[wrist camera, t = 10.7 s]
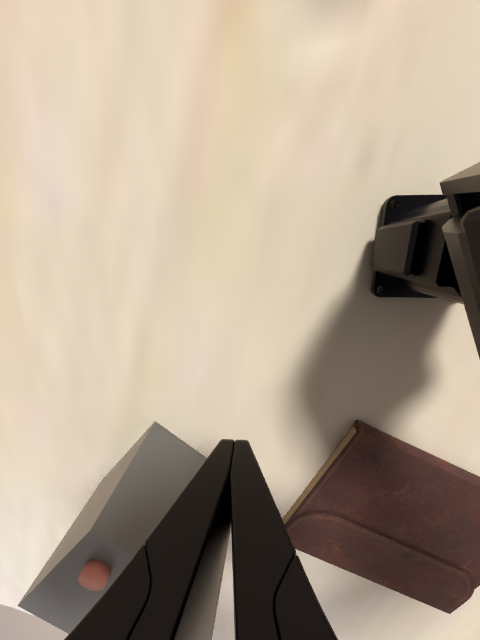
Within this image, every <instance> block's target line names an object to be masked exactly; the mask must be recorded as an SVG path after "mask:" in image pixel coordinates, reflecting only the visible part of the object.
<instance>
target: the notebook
mask: <svg viewBox="0 0 480 640" xmlns="http://www.w3.org/2000/svg"><path fill="white" fill-rule="evenodd" d="M355 423H356V424H354V425H353V427H352V428H351V429H350V431H349V432H348V433H347V435H346V436H345V437H344V439H343V440H342V441H341V443H340V444H339V445H338V447H337V448H336V449H335V450H334V452H333V453H332V454H331V456H330V457H329V458H328V460H327V461H326V462H325V464H324V465H323V466H322V468H321V469H320V470H319V472H318V473H317V474H316V476H315V477H314V478H313V480H312V481H311V482H310V484H309V485H308V486H307V487H306V489H305V490H304V491H303V493H302V494H301V495H300V497H299V498H298V499H297V501H296V502H295V503H294V505H293V506H292V507H291V509H290V510H289V511H288V513H287V514H286V515H285V517H284V518H283V519H282V520H283V523H284V525H285V527H286V530H287V532H288V534H289V537H290V539H291V541H292V544H293V546H294V548H295V549H297V550H300V551H302V552H304V553H307V554H309V555H311V556H314V557H316V558H319V559H321V560H323V561H326V562H328V563H330V564H333V565H335V566H338V567H340V568H342V569H345V570H347V571H349V572H352V573H354V574H356V575H359V576H361V577H364V578H366V579H368V580H371V581H373V582H375V583H378V584H380V585H382V586H385V587H387V588H390V589H392V590H394V591H397V592H399V593H401V594H404V595H406V596H409V597H411V598H413V599H416V600H418V601H420V602H423V603H425V604H427V605H430V606H432V607H435V608H437V609H439V610H442V611H444V612H446V613H449V614H450V613H452V612H453V611H454V610H456V609H457V608H458V607H460V606H461V605H462V604H464V603H465V602H466V601H467V600H468V599H469V598H470V597H471V596H472V594H473V592H474V589H476V588H477V587H478V586H479V585H480V477H479V476H476V475H474V474H472V473H470V472H468V471H466V470H463V469H461V468H459V467H457V466H455V465H453V464H451V463H448V462H446V461H444V460H442V459H440V458H438V457H435V456H433V455H431V454H429V453H427V452H425V451H423V450H420V449H418V448H416V447H414V446H412V445H410V444H407V443H405V442H403V441H401V440H399V439H397V438H395V437H392V436H390V435H388V434H386V433H384V432H382V431H379V430H377V429H375V428H373V427H371V426H369V425H366V424H364V423H362V422H360V421H358V420H356V421H355Z"/></svg>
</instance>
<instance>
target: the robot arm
mask: <svg viewBox="0 0 480 640" xmlns="http://www.w3.org/2000/svg"><path fill="white" fill-rule="evenodd" d="M440 186H441V190H442V193H443V195H396V196H392V197H390V198H388V199H387V200H386V201H385V202H384V205H383V212H382V218H381V225H380V228H379V229H377V231H376V237H375V244H374V251H373V258H372V265H371V268H372V269H373V270H374V272H373V278H372V285H371V293H372V294H373V295H374V296H377V297H417V298H442V299H446V300H449V301H453V302H457V303H461V304H464V306H465V310H466V313H467V317H468V320H469V324H470V327H471V331H472V334H473V338H474V341H475V345H476V348H477V352H478V355H479V359H480V162H479V163H477V164H475V165H473V166H471V167H469V168H467V169H465V170H463V171H461V172H459V173H457V174H455V175H453V176H451V177H449V178H447V179H445V180H443V181H441V182H440ZM444 194H446V195H444ZM392 201H394V202H395V207H394V208H392V207H391V202H392ZM379 287H382V290H381V291H380V292H377V289H378V288H379ZM230 527H231V533H232V564H233V594H234V624H235V640H338V639H337V637H336V635H335V633H334V631H333V629H332V627H331V625H330V623H329V622H328V620H327V618H326V616H325V614H324V612H323V610H322V608H321V606H320V604H319V602H318V599H317V597H316V595H315V593H314V591H313V589H312V586H311V584H310V582H309V580H308V578H307V576H306V573H305V571H304V569H303V566H302V564H301V562H300V559H299V557H298V556H297V555H296V551H295V548H294V546H293V544H292V541H291V539H290V537H289V534H288V532H287V530H286V527H285V525H284V523H283V520H282V518H281V516H280V513H279V511H278V509H277V506H276V504H275V502H274V499H273V497H272V495H271V493H270V490H269V488H268V486H267V483H266V481H265V479H264V476H263V474H262V472H261V469H260V467H259V465H258V462H257V460H256V458H255V455H254V453H253V451H252V448H251V446H250V444H249V442H248V441H247V440H235V442H234V440H232V439H222V440H221V441H220V442H219V443H218V445H217V446H216V447H215V449H214V450H213V451H212V453H211V454H210V455H209V456H208V458H207V459H206V460H205V462H204V463H203V464H202V466H201V467H200V468H199V470H198V471H197V472H196V474H195V475H194V476H193V478H192V479H191V480H190V482H189V483H188V484H187V486H186V487H185V488H184V490H183V491H182V492H181V494H180V495H179V496H178V498H177V499H176V500H175V502H174V503H173V504H172V506H171V507H170V508H169V510H168V511H167V512H166V514H165V515H164V516H163V518H162V519H161V520H160V522H159V523H158V524H157V526H156V527H155V528H154V530H153V531H152V532H151V534H150V535H149V536H148V538H147V539H146V540H145V545H141V547H140V548H139V549H138V551H137V552H136V553H135V555H134V556H133V557H132V559H131V560H130V562H129V563H128V564H127V565H126V567H125V568H124V569H123V570H122V572H121V573H120V574H119V576H118V577H117V578H116V579H115V581H114V582H113V583H112V584H111V586H110V587H109V588H108V589H107V591H106V592H105V593H104V594H103V595H102V596H101V598H100V599H99V600H98V601H97V602H96V604H95V605H94V606H93V607H92V608H91V609H90V611H89V612H88V613H87V614H86V615H85V616H84V618H83V619H82V620H81V621H80V622H79V623H78V624H77V626H76V627H75V628H74V629H73V630H72V631H71V632H70V634H69V635H68V636H67V637H66V638H65V639H64V640H212V634H213V628H214V622H215V616H216V610H217V605H218V599H219V593H220V587H221V581H222V575H223V569H224V563H225V558H226V552H227V546H228V540H229V534H230Z"/></svg>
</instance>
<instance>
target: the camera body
mask: <svg viewBox="0 0 480 640" xmlns="http://www.w3.org/2000/svg"><path fill="white" fill-rule="evenodd" d="M206 459H207V458H206V457H204V456H203V455H201V454H200V453H199V452H197V451H196V450H194V449H193V448H192V447H190V446H189V445H187V444H186V443H185V442H183V441H182V440H180V439H179V438H178V437H176V436H175V435H173V434H172V433H171V432H169V431H168V430H166V429H165V428H164V427H162V426H161V425H159V424H158V423H157V422H154V423H153V424H152V425H151V427H150V428H149V429H148V430H147V431H146V432H145V433H144V434H143V435H142V437H141V438H140V439H139V440H138V441H137V442H136V443H135V444H134V446H133V447H132V448H131V449H130V450H129V451H128V452H127V453H126V454H125V456H124V457H123V458H122V459H121V460H120V461H119V462H118V463H117V465H116V466H115V467H114V468H113V469H112V470H111V471H110V472H109V474H108V475H107V476H106V477H105V478H104V479H103V480H102V481H101V483H100V484H99V486H98V487H97V489H96V490H95V492H94V493H93V495H92V496H91V497H90V499H89V500H88V502H87V503H86V505H85V506H84V508H83V509H82V511H81V512H80V514H79V515H78V517H77V518H76V520H75V521H74V523H73V524H72V526H71V527H70V529H69V530H68V532H67V533H66V535H65V536H64V538H63V539H62V541H61V542H60V543H59V545H58V546H57V548H56V549H55V551H54V552H53V554H52V555H51V557H50V558H49V560H48V561H47V563H46V564H45V566H44V567H43V569H42V570H41V572H40V573H39V575H38V576H37V578H36V579H35V581H34V582H33V584H32V585H31V586H30V588H29V589H28V591H27V592H26V594H25V595H24V597H23V598H22V600H21V601H20V603H19V604H18V606H19V607H21V608H23V609H25V610H26V611H28V612H30V613H32V614H34V615H36V616H37V617H39V618H41V619H43V620H45V621H47V622H48V623H50V624H52V625H54V626H56V627H58V628H59V629H61V630H63V631H65V632H67V633H68V634H70V632H71V631H72V630H73V629H74V628H75V627H76V626H77V624H78V623H79V622H80V621H81V620H82V619H83V618H84V616H85V615H86V614H87V613H88V612H89V611H90V609H91V608H92V607H93V606H94V605H95V604H96V602H97V601H98V600H99V599H100V598H101V596H102V595H103V594H104V593H105V592H106V591H107V589H108V588H109V587H110V586H111V584H112V583H113V582H114V581H115V579H116V578H117V577H118V576H119V574H120V573H121V572H122V570H123V569H124V568H125V567H126V565H127V564H128V563H129V562H130V560H131V559H132V557H133V556H134V555H135V553H136V552H137V551H138V549H139V548H140V547H141V545H145V540H146V539H147V538H148V536H149V535H150V534H151V532H152V531H153V530H154V528H155V527H156V526H157V524H158V523H159V522H160V520H161V519H162V518H163V516H164V515H165V514H166V512H167V511H168V510H169V508H170V507H171V506H172V504H173V503H174V502H175V500H176V499H177V498H178V496H179V495H180V494H181V492H182V491H183V490H184V488H185V487H186V486H187V484H188V483H189V482H190V480H191V479H192V478H193V476H194V475H195V474H196V472H197V471H198V470H199V468H200V467H201V466H202V464H203V463H204V462H205V460H206Z"/></svg>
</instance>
